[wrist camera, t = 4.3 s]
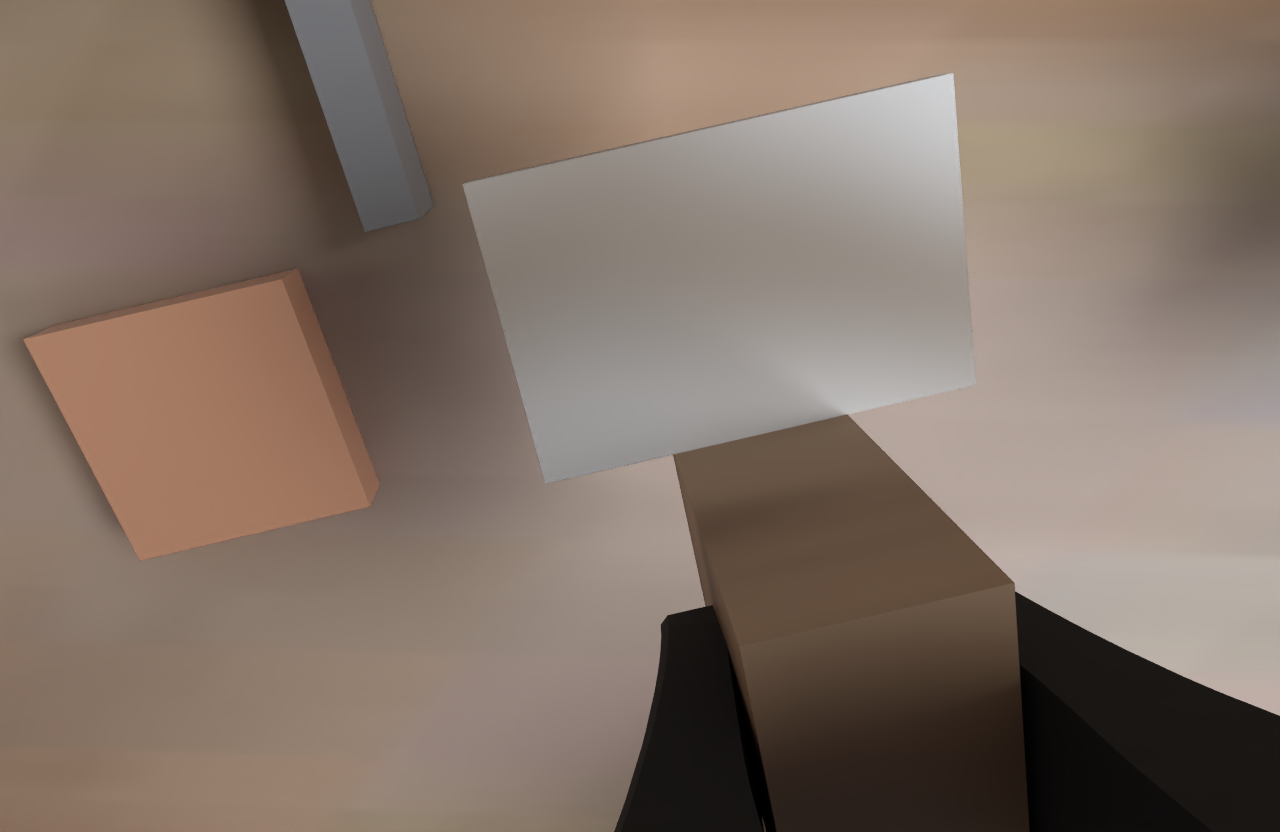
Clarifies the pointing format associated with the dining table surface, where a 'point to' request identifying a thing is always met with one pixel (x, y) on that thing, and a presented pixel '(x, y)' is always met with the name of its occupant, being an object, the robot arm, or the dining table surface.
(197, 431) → the tile
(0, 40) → the dining table surface
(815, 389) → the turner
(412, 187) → the bay
